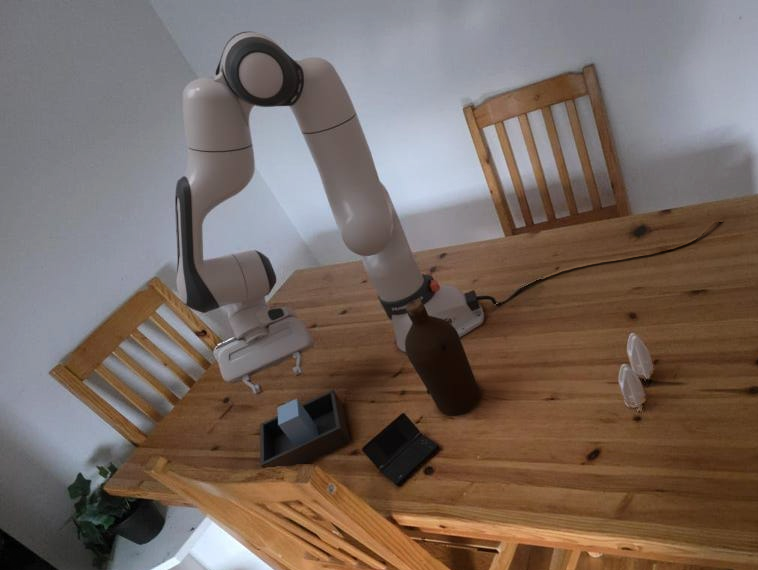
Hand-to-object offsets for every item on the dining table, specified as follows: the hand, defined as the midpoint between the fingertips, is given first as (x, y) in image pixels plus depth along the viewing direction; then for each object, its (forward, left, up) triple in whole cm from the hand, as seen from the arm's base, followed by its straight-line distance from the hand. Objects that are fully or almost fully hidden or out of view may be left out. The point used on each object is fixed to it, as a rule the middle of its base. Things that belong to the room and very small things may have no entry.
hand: (279, 384), depth 127 cm
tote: (0, +7, -12) cm, 14 cm away
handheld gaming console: (-19, +25, -12) cm, 34 cm away
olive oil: (-33, +16, -12) cm, 39 cm away
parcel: (0, +7, -12) cm, 13 cm away
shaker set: (-64, +35, -12) cm, 74 cm away
